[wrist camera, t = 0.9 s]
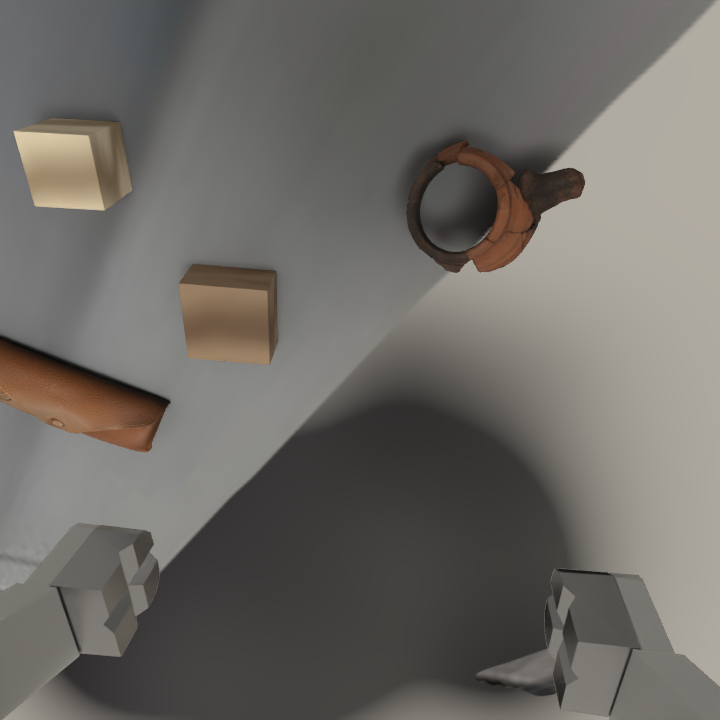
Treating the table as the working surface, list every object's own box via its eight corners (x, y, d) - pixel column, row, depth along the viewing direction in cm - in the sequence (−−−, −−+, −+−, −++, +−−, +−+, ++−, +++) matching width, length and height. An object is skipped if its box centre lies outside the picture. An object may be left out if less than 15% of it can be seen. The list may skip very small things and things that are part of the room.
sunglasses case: (-22, 393, 55) (-61, 405, 48) (4, 329, 55) (-32, 331, 48) (153, 455, 58) (139, 473, 52) (178, 394, 58) (167, 405, 52)
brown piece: (458, 283, 46) (420, 296, 39) (420, 176, 46) (376, 170, 39) (607, 229, 40) (594, 232, 33) (565, 103, 39) (543, 80, 32)
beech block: (53, 117, 40) (13, 131, 36) (120, 121, 40) (88, 135, 36) (70, 186, 43) (34, 206, 39) (132, 190, 43) (104, 210, 39)
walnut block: (194, 263, 46) (178, 283, 43) (276, 269, 46) (267, 290, 43) (202, 334, 50) (188, 357, 47) (278, 340, 50) (269, 364, 47)
